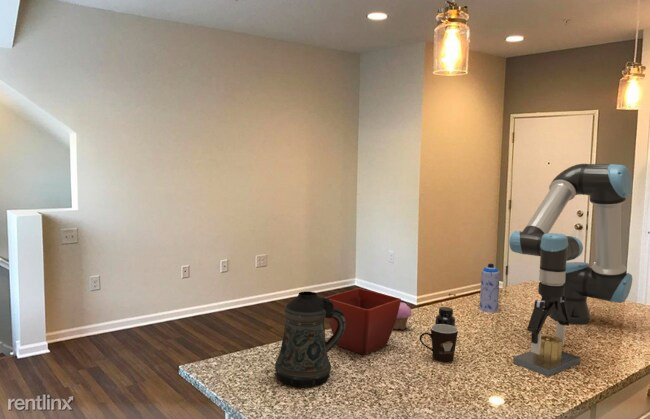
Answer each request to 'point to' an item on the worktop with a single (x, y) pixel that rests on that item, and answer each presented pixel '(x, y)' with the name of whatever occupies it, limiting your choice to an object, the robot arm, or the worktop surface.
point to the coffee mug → (442, 342)
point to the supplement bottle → (445, 316)
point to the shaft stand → (546, 363)
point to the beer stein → (307, 341)
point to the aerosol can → (489, 289)
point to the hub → (550, 348)
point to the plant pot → (365, 319)
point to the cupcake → (402, 316)
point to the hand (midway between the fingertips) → (547, 348)
